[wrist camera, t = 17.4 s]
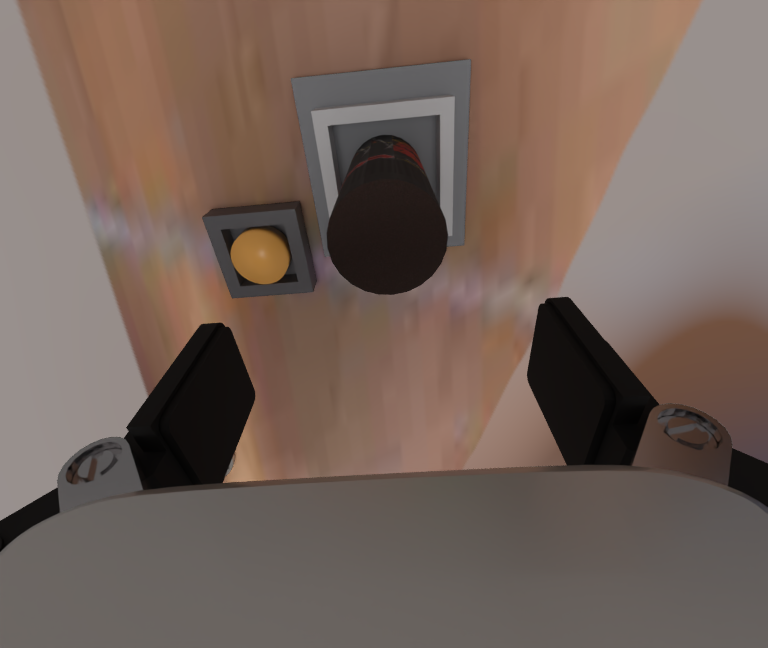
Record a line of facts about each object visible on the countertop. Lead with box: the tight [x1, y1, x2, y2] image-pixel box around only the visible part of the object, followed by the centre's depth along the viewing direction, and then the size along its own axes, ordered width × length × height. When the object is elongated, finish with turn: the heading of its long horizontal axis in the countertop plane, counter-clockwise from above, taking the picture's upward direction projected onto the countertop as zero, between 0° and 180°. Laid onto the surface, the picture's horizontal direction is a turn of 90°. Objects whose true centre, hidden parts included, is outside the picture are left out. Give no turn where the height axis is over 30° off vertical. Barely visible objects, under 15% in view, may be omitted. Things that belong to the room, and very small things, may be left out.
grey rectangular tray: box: [291, 59, 471, 257], centre depth 30 cm, size 14×13×4 cm
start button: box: [231, 226, 292, 284], centre depth 34 cm, size 5×5×2 cm
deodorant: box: [326, 135, 448, 295], centre depth 24 cm, size 6×6×15 cm
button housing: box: [202, 201, 317, 298], centre depth 34 cm, size 8×8×2 cm
